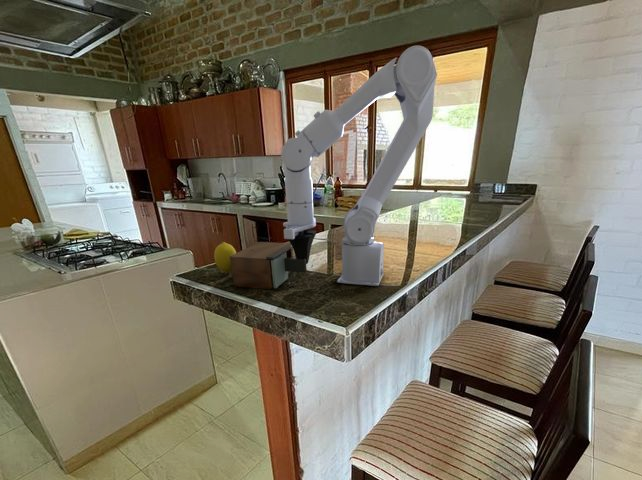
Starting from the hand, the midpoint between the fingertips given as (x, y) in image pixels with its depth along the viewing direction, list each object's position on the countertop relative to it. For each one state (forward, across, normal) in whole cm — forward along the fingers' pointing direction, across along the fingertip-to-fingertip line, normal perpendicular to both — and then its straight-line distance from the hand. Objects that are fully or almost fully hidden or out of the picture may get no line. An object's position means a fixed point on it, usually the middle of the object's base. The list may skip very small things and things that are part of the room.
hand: (303, 263), depth 77 cm
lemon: (+4, 0, -21) cm, 21 cm away
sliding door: (+4, +4, -2) cm, 6 cm away
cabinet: (+4, +1, -10) cm, 11 cm away
